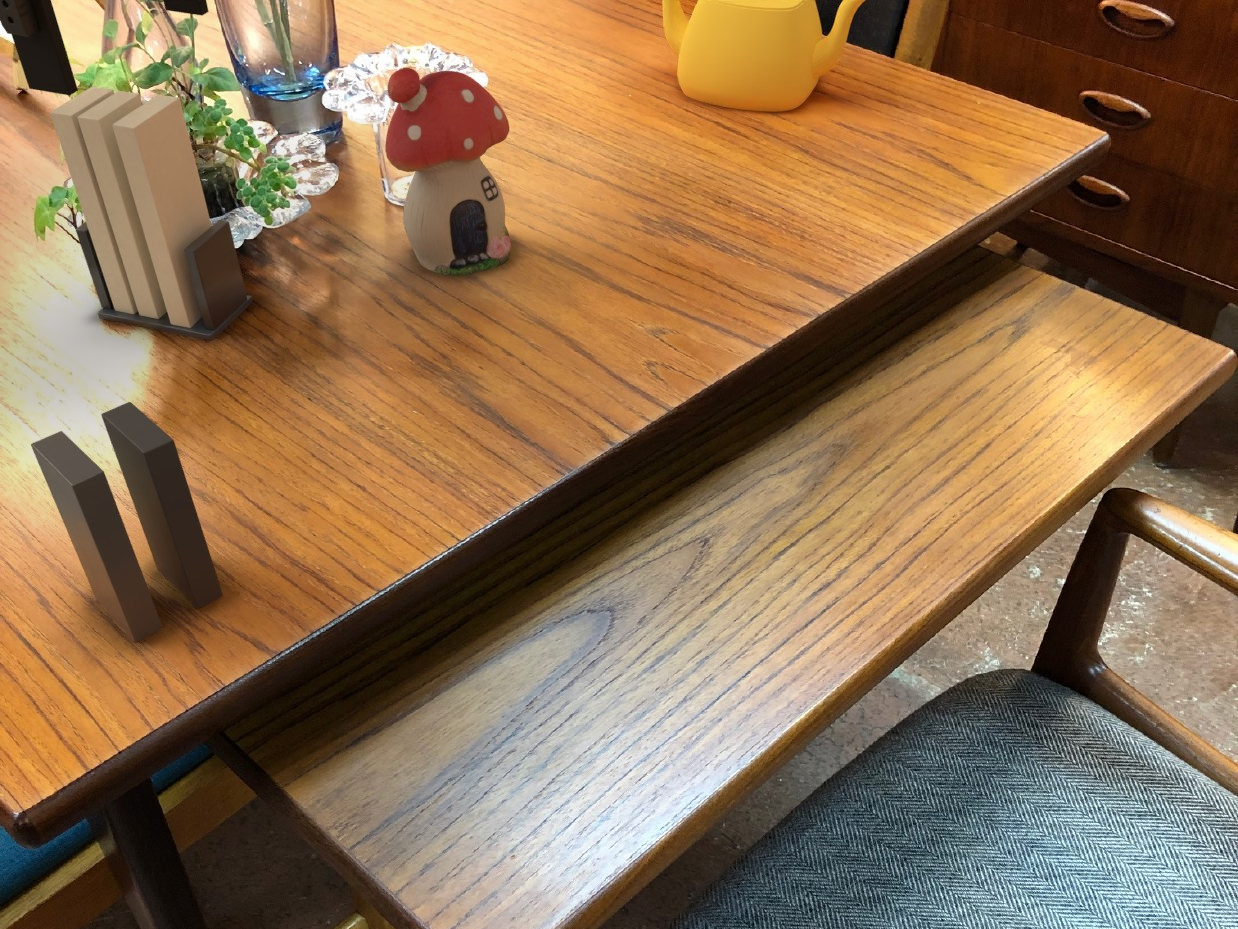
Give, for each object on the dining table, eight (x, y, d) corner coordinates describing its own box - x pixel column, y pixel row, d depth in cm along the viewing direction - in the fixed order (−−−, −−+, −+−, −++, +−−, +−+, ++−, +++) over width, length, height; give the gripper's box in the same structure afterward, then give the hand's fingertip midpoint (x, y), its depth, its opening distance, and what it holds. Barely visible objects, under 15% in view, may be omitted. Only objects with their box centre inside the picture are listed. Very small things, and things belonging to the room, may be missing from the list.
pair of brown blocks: (138, 649, 63) (71, 485, 55) (99, 607, 65) (29, 443, 57) (225, 602, 65) (174, 439, 57) (185, 562, 67) (130, 400, 60)
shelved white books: (114, 310, 84) (49, 112, 75) (150, 281, 87) (92, 86, 77) (158, 319, 84) (98, 120, 74) (193, 289, 87) (140, 93, 77)
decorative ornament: (411, 291, 89) (384, 85, 78) (390, 251, 93) (361, 50, 82) (530, 268, 91) (520, 66, 80) (503, 230, 95) (490, 33, 85)
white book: (170, 324, 83) (111, 124, 73) (209, 289, 87) (158, 94, 77) (190, 328, 83) (133, 128, 73) (228, 293, 86) (179, 97, 76)
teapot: (879, 73, 119) (898, -46, 111) (845, 134, 109) (863, 7, 101) (670, 43, 124) (675, -73, 117) (619, 98, 114) (620, -25, 106)
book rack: (100, 324, 85) (69, 233, 80) (146, 286, 89) (118, 197, 84) (213, 347, 83) (188, 255, 78) (255, 308, 87) (233, 217, 82)
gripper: (-126, -382, 48) (46, 139, 63) (211, -431, 65) (283, -10, 80) (-273, -393, 50) (-72, 118, 65) (93, -438, 66) (185, -24, 81)
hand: (124, 48), depth 72 cm, fingers open, 13 cm apart
